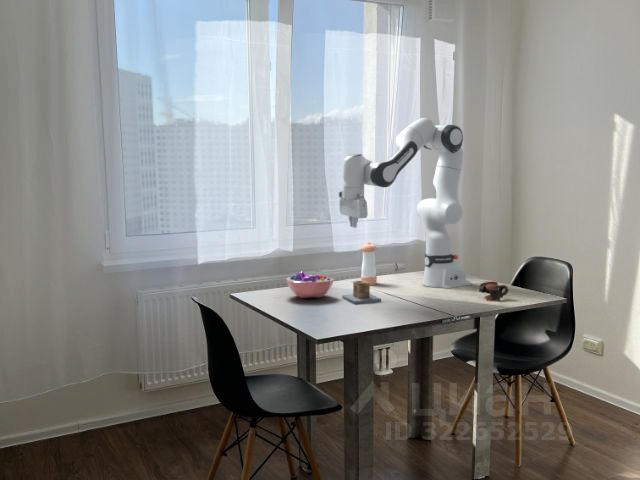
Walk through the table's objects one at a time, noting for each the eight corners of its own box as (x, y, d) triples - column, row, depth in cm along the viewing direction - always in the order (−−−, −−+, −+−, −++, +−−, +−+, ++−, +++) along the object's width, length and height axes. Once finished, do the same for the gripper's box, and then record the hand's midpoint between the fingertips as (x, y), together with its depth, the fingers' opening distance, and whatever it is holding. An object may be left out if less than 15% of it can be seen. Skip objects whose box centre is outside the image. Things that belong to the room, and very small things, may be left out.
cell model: (329, 303, 258) (329, 275, 256) (281, 301, 262) (281, 274, 260) (337, 294, 274) (337, 268, 272) (291, 292, 278) (291, 266, 276)
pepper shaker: (376, 282, 299) (377, 241, 296) (376, 285, 291) (376, 243, 289) (361, 281, 299) (361, 241, 297) (360, 285, 292) (360, 243, 289)
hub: (368, 295, 271) (368, 282, 270) (381, 301, 260) (381, 287, 259) (342, 298, 267) (342, 284, 266) (354, 304, 256) (354, 290, 255)
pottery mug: (479, 302, 261) (475, 283, 264) (483, 307, 269) (479, 288, 272) (509, 296, 257) (505, 277, 260) (512, 302, 265) (508, 283, 268)
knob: (364, 295, 266) (364, 279, 266) (369, 297, 262) (369, 281, 261) (353, 296, 265) (353, 280, 264) (358, 298, 260) (358, 282, 259)
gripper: (371, 195, 256) (371, 229, 258) (350, 192, 275) (350, 224, 277) (357, 195, 254) (357, 230, 256) (336, 192, 273) (336, 225, 275)
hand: (353, 227), depth 267 cm, fingers closed
